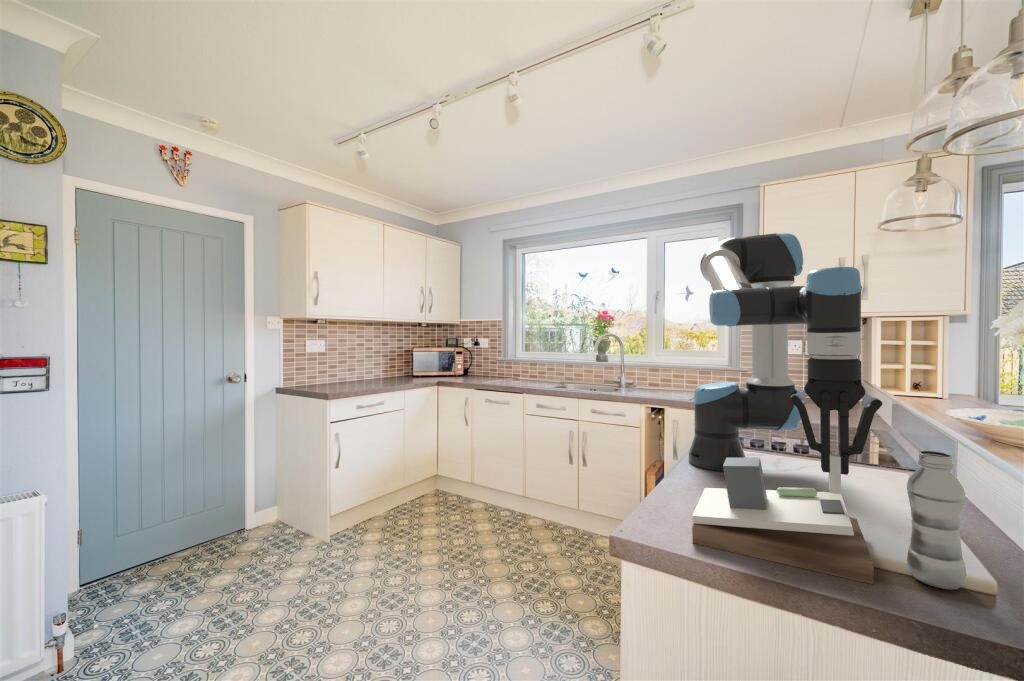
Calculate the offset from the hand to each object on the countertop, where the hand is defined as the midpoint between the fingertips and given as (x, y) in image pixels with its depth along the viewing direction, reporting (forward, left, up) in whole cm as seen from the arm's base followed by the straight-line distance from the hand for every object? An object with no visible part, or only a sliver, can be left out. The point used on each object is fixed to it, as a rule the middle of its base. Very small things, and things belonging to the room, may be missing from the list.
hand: (834, 491), depth 75 cm
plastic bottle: (+4, +12, -11) cm, 17 cm away
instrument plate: (0, -10, -6) cm, 12 cm away
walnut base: (0, -9, -11) cm, 14 cm away
